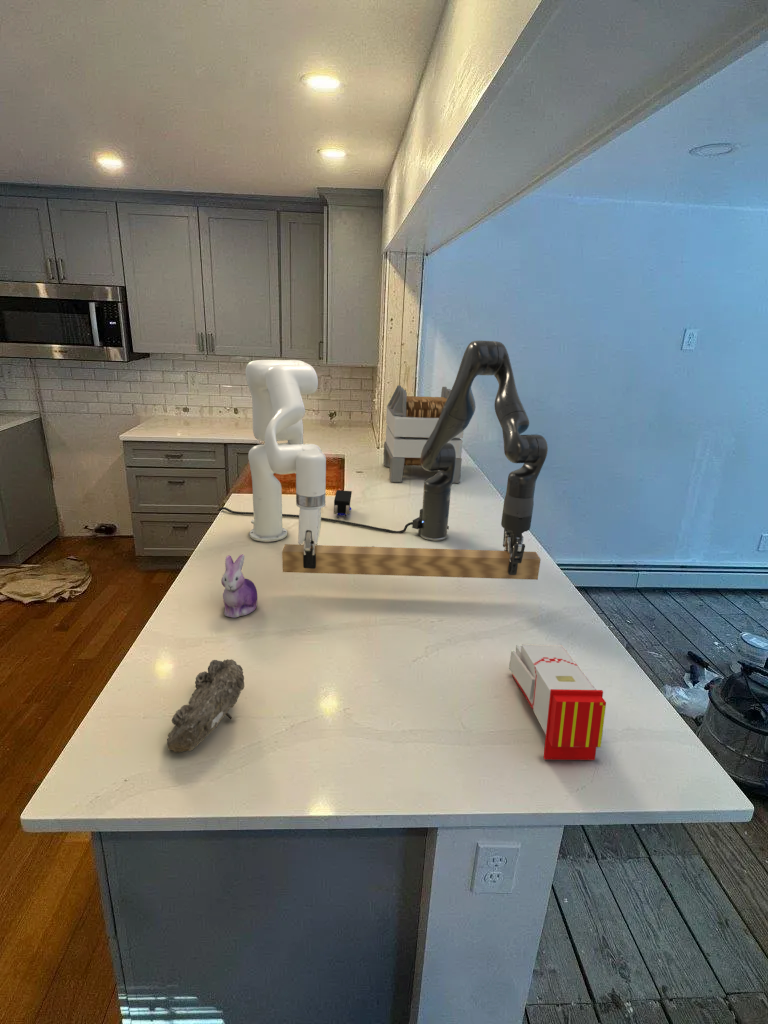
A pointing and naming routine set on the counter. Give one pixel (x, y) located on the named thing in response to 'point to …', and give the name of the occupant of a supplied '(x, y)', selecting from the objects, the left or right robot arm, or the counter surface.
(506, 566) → the beam
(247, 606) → the figurine
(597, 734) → the toy
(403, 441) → the grey box with legs
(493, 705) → the counter surface
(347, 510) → the figurine character
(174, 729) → the fossil
